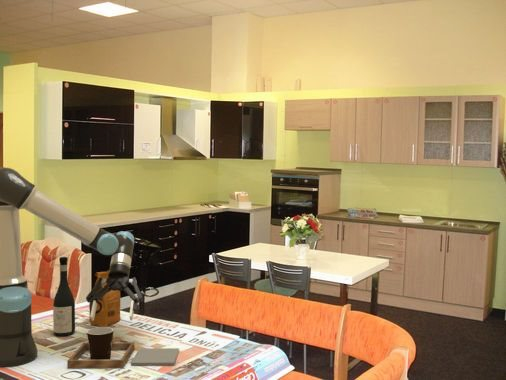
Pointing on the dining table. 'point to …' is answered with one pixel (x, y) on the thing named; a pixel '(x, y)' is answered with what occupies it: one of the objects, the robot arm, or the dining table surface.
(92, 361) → the walnut collar
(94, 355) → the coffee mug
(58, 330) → the wine bottle
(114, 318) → the coffee package
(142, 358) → the slate coaster
